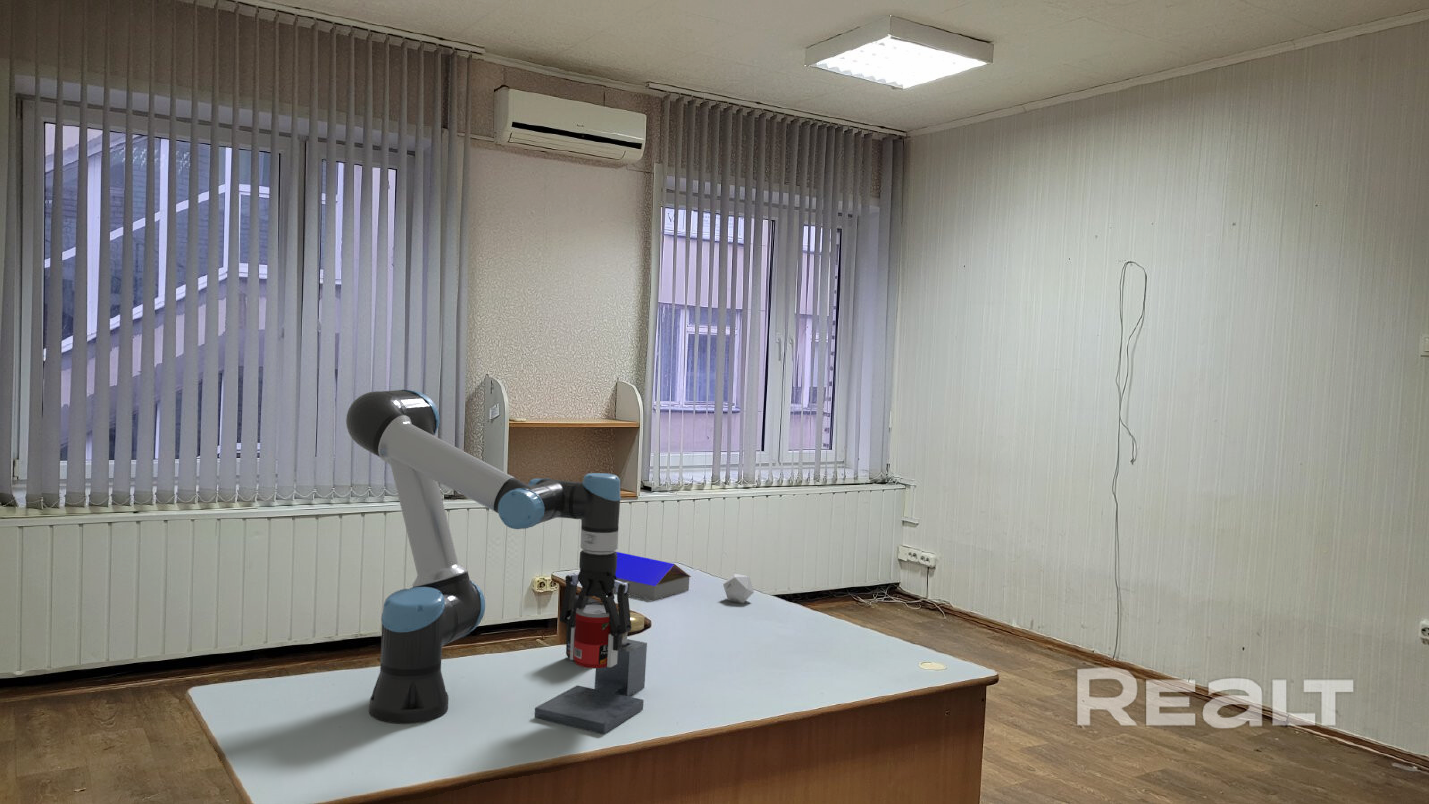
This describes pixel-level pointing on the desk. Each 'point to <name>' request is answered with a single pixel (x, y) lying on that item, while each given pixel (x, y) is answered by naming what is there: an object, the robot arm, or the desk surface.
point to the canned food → (591, 636)
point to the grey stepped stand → (602, 695)
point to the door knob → (633, 626)
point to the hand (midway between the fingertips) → (593, 661)
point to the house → (650, 576)
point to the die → (738, 588)
